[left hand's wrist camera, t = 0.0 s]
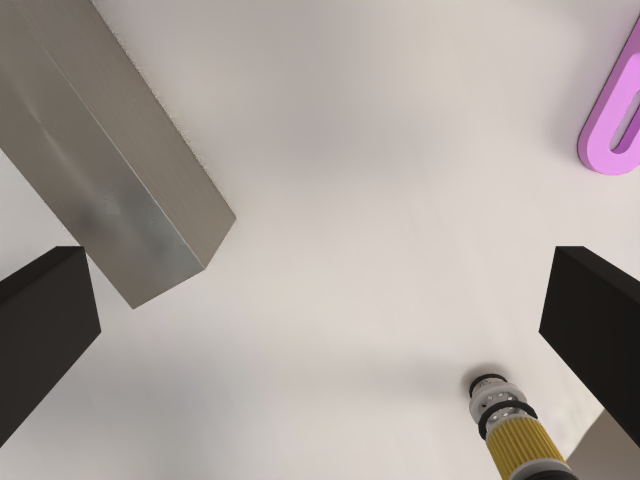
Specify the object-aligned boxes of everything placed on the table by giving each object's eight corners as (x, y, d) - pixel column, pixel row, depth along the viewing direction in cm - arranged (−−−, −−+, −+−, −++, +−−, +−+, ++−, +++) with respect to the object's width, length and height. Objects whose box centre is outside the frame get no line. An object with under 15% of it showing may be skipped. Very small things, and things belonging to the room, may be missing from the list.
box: (-11, -13, 34) (-169, -58, 23) (50, -60, 33) (-85, -130, 22) (182, 249, 42) (132, 309, 31) (236, 218, 41) (205, 269, 30)
